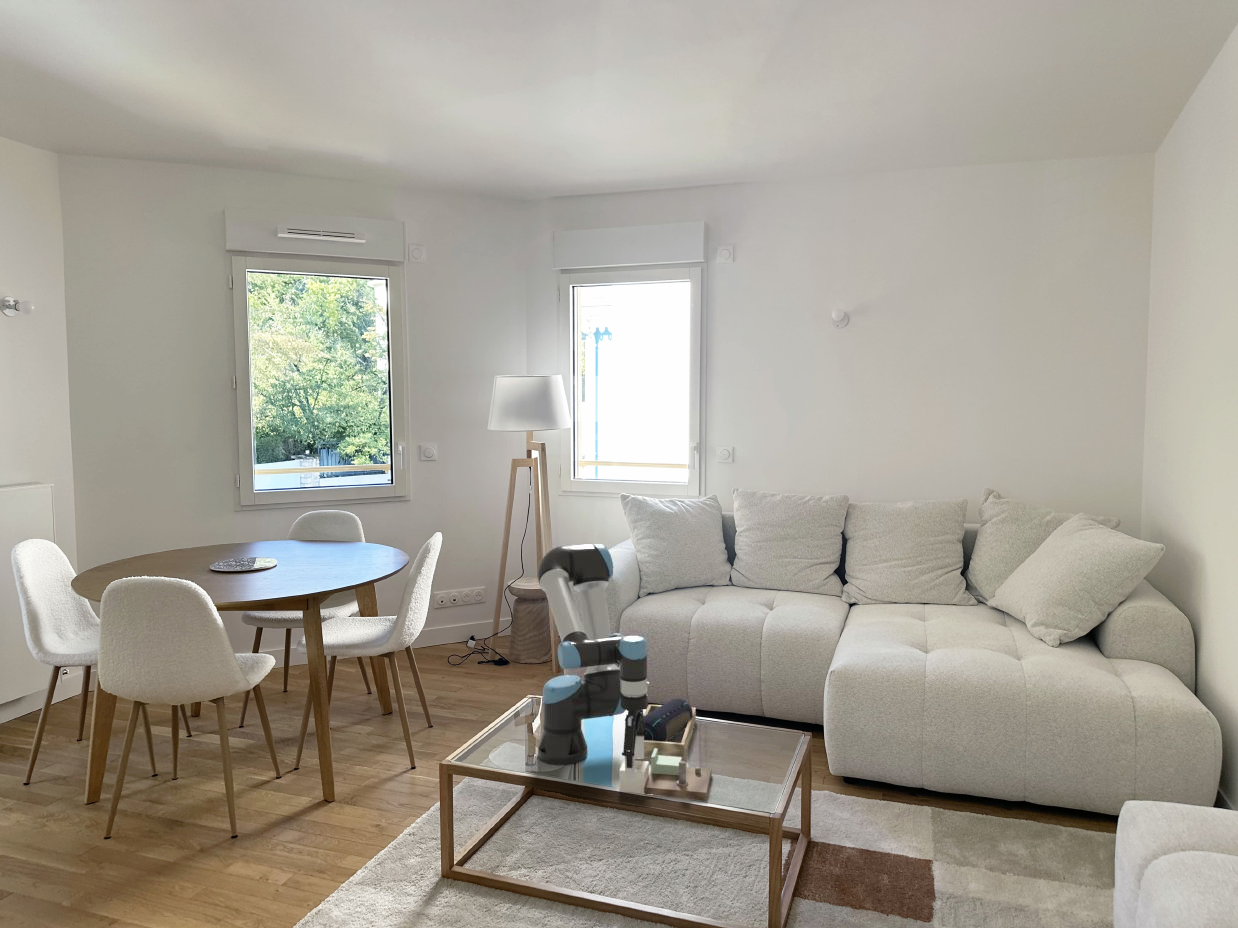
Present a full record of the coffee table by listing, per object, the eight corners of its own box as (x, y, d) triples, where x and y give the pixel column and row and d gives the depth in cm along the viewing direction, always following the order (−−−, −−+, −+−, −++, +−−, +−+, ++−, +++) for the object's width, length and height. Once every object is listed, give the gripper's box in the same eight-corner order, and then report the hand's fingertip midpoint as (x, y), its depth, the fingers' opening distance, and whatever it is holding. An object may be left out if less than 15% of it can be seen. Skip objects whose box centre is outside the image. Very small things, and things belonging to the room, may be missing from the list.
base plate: (644, 794, 231) (644, 765, 230) (653, 770, 245) (653, 743, 245) (706, 799, 227) (706, 770, 227) (711, 775, 242) (711, 748, 241)
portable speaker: (658, 754, 256) (658, 723, 255) (631, 747, 261) (630, 716, 260) (697, 727, 276) (697, 698, 276) (671, 721, 282) (671, 692, 281)
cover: (651, 773, 239) (651, 756, 238) (654, 764, 245) (654, 748, 244) (679, 775, 237) (679, 758, 237) (681, 766, 243) (681, 750, 243)
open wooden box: (631, 756, 255) (631, 740, 255) (648, 718, 286) (648, 704, 285) (684, 760, 252) (684, 744, 252) (695, 721, 282) (695, 707, 282)
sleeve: (619, 791, 233) (619, 770, 232) (624, 779, 239) (624, 759, 239) (644, 793, 231) (644, 772, 231) (648, 781, 238) (648, 761, 238)
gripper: (639, 709, 220) (640, 788, 221) (654, 679, 245) (655, 751, 246) (611, 707, 222) (612, 785, 223) (629, 678, 246) (630, 749, 247)
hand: (634, 767), depth 234 cm, fingers open, 13 cm apart
